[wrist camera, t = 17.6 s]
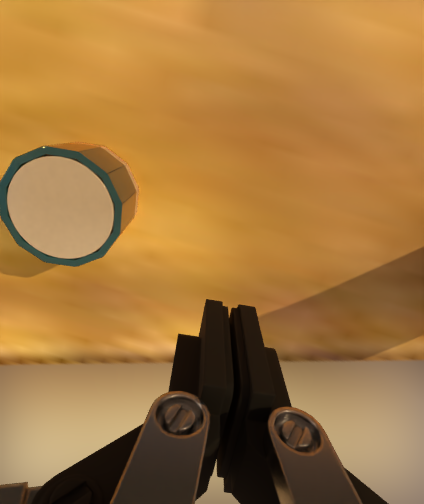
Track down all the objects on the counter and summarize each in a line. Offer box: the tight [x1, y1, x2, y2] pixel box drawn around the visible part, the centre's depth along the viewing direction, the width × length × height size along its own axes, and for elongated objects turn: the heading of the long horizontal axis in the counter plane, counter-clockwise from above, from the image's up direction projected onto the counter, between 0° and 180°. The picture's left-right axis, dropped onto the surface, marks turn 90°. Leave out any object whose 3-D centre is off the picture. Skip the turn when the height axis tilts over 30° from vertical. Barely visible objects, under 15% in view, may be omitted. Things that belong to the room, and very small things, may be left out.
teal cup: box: [0, 142, 139, 267], centre depth 25 cm, size 8×8×6 cm
